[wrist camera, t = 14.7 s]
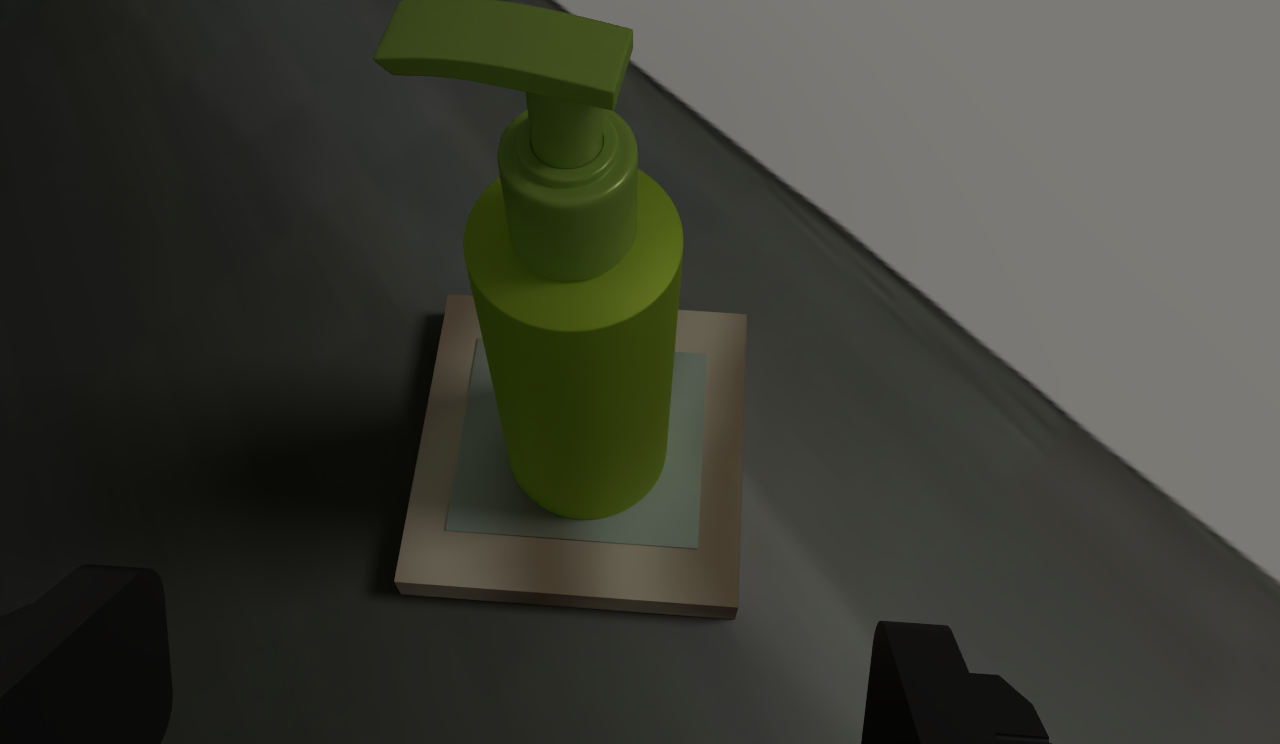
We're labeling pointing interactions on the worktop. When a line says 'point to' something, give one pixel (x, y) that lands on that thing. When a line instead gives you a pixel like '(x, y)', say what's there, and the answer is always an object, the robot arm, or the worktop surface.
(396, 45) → the soap dispenser
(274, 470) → the worktop surface
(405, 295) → the worktop surface
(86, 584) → the robot arm
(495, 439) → the board
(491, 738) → the worktop surface
